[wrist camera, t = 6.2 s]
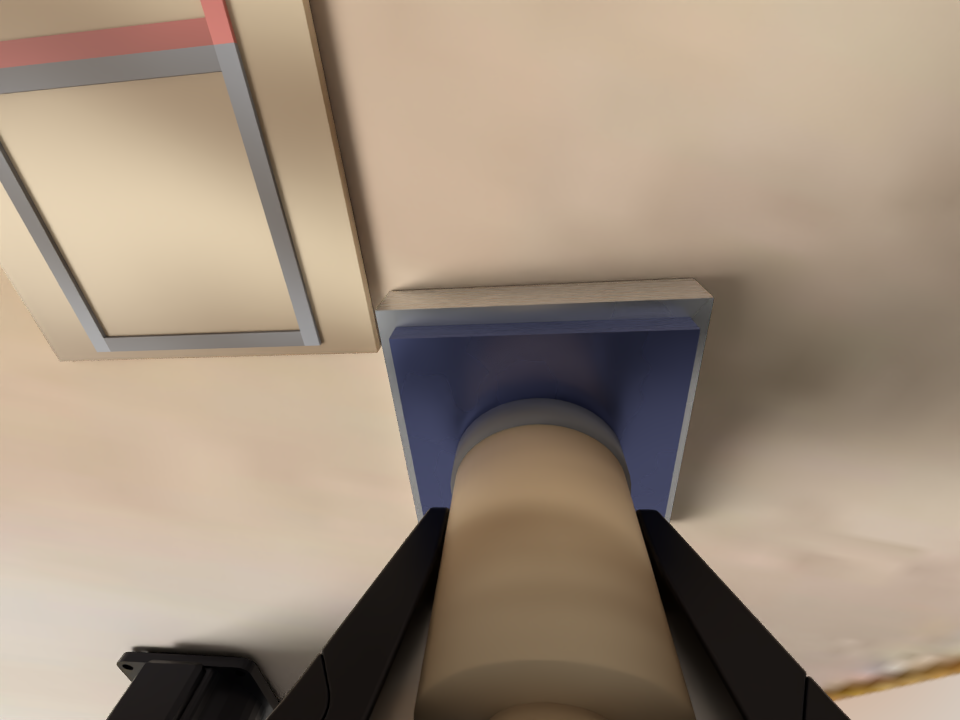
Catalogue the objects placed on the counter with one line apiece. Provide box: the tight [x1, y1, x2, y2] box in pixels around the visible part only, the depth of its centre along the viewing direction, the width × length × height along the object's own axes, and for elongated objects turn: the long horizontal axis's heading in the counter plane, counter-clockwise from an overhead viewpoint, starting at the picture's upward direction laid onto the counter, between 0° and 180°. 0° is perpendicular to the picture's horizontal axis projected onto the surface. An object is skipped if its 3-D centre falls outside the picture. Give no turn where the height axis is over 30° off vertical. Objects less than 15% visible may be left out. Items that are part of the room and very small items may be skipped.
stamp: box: [413, 398, 696, 720], centre depth 7 cm, size 4×4×7 cm
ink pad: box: [375, 278, 714, 523], centre depth 11 cm, size 8×7×2 cm
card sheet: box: [0, 0, 381, 361], centre depth 8 cm, size 13×9×1 cm
